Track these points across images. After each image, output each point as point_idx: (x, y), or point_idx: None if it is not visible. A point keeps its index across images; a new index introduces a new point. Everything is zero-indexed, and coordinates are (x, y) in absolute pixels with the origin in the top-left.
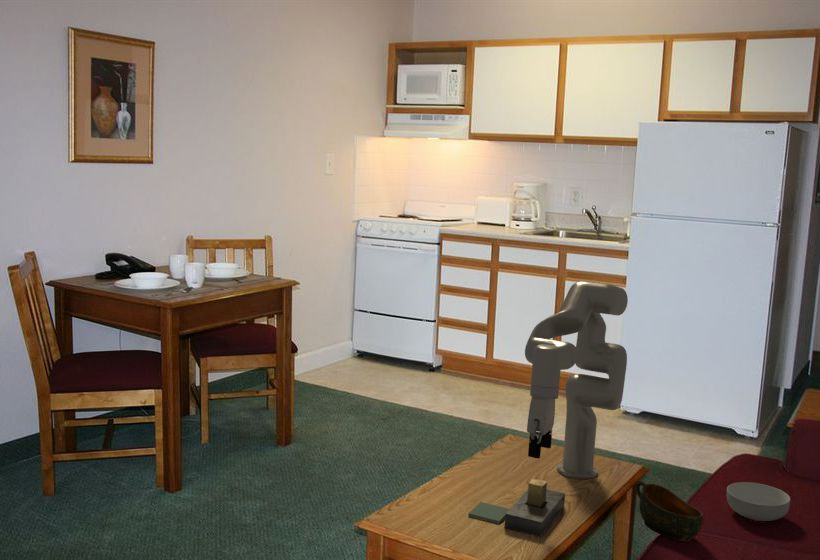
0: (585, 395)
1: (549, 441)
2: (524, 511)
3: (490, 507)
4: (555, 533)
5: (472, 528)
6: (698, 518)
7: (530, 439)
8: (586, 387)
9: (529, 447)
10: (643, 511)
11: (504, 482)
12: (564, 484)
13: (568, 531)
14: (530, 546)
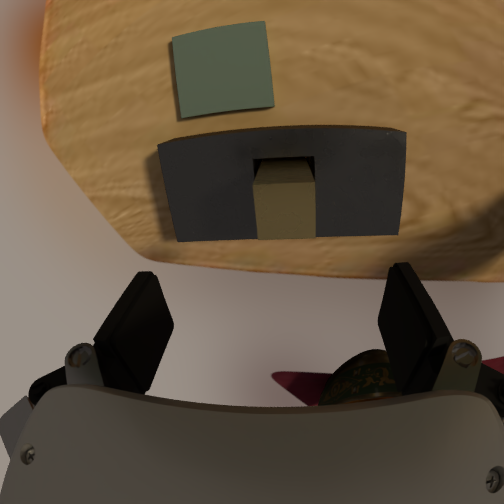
0: None
1: (388, 353)
2: (204, 180)
3: (246, 56)
4: (228, 244)
5: (124, 86)
6: None
7: (47, 377)
8: None
9: (115, 312)
10: (358, 372)
11: (445, 44)
12: (495, 187)
13: (256, 263)
14: (139, 224)
